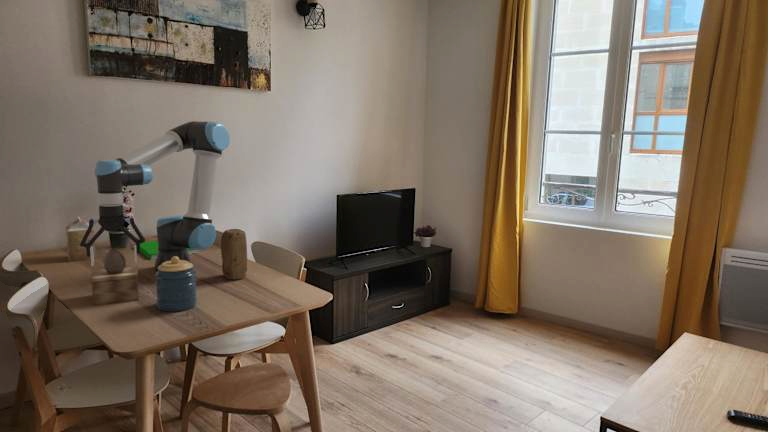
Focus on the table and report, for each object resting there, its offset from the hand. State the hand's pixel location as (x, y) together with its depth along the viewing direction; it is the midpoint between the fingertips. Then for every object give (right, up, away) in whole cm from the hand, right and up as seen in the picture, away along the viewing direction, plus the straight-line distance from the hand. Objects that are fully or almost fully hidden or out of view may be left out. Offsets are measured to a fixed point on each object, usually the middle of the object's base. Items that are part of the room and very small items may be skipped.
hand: (114, 263), depth 179 cm
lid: (0, -4, +1) cm, 4 cm away
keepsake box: (0, -12, +2) cm, 12 cm away
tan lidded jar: (-44, -3, +53) cm, 69 cm away
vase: (0, -3, +1) cm, 3 cm away
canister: (+24, -14, -5) cm, 29 cm away
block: (+33, -9, +31) cm, 46 cm away
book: (-13, -1, +72) cm, 73 cm away
